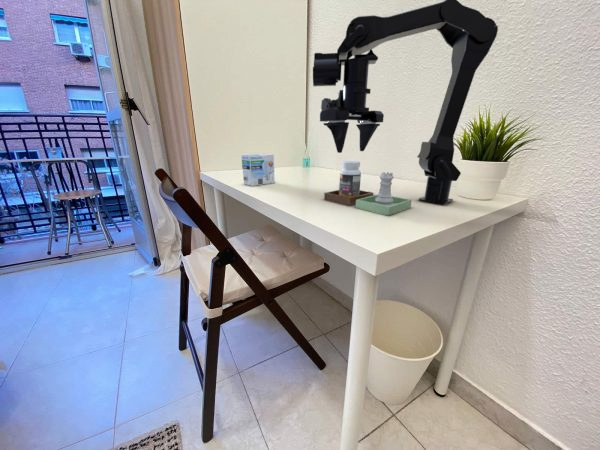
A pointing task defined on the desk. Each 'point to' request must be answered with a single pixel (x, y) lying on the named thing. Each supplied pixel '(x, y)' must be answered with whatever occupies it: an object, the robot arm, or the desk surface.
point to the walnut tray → (351, 201)
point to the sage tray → (370, 205)
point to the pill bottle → (350, 179)
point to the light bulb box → (258, 169)
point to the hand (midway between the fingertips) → (351, 151)
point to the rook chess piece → (385, 190)
